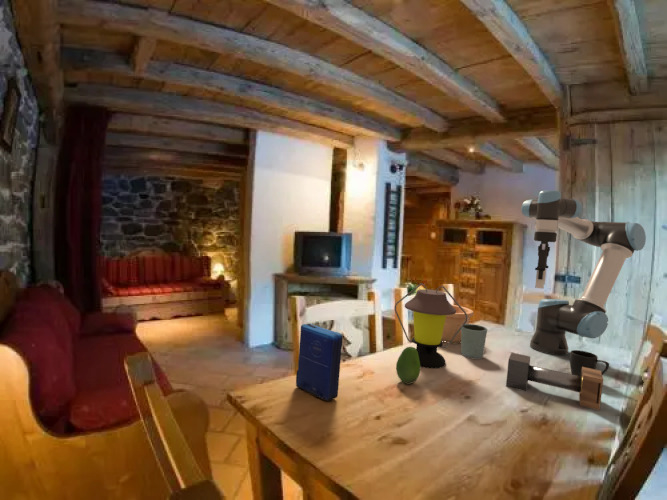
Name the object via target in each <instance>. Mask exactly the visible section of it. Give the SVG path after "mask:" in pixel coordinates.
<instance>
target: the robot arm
mask: <svg viewBox="0 0 667 500" xmlns="http://www.w3.org/2000/svg"><path fill="white" fill-rule="evenodd" d="M520 212H521V214H522V215H523V216H524V217H526V218H535V221H534V222H533V225H535V226H534V227H535V228H534V229H535V232H534V235H533V236H534V237H533V240H534V241H535V242H540V244H539V245H538V247H537V256H538V260H537V266H536V267H535V268H534V270H535V271H536V275H535V286H534V287H535V288H536V289H544V287H545V285H546V276H547V269H549V265H548V257H549V255H550V252H551V251H550V250H551V247H550V246H549V243H556V242H557V236H558V233H557V231H559V230H558V229H560V230H562V231H564V232H566V233H569V234H571V235H572V237H573V238H574V239H576V240H579V241H581V242H582V243H585V244H588V245H590V246H594V247H598V248H600V249H601V250H602V252H601V254H600V257H599V258H598V260H597V263H596V265H595V267H594V269H593V272H592V273H591V275H590V277H589V280H588V281H587V283H586V286H585V288H584V290H583V292H582V294H581V296H580V298H576V299H575V300H574V301H573V302H572V304H570V301H569V300H567V299H559V298H558V299H557V298H543V299H540V300H539V301H538V306H537V315H536V324H535V325H536V326H535V331H534V332H533V335H532V336H531V339H530V341H529V346H530V348H532V349H533V350H535V351H537V352H541V353H545V354H550V355H557V356H561V355H562V356H563V355H564V356H565V355H568V354H569V345H568V342H567V341H568V340H567V337H566V332H567V333H570V334H573V335H576V336H579V337H582V338H588V339H596V338H600V337H601V336H602V335H603V334H604V333H605V331H606V330H607V328H608V325H609V323H608V322H609V317H608V315H607V310H606V308H605V304H606V303H607V300H608V298H609V296H610V294H611V292H612V289H613V287H614V285H615V284H616V281H617V279H618V277H619V274H620V272H621V270H622V268H623V266H624V263H625V262H626V259H629V258H631V257H632V256H633V254H634V253H635V252H637V251H641V250H643V249H644V247H645V245H646V241H647V239H646V238H647V236H646V232H645V228H644V227H643V226H642V225H641V224H640V223H637V222H630V221H626V222H621V221H620V222H617V221H614V222H613V221H593V220H589V219H585V218H584V219H582V218H580V217H579V216H580V215H581V214H582V213H583V204H582V202H581V201H580V200H577V199H574V198H566V197H562V193H561V191H560V190H552V189H551V190H541V191H540V192H539V193H538V198H537V199H534V198H532V199H527V200H525V201H523V203H522V205H521V211H520Z"/></svg>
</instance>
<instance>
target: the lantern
mask: <svg viewBox="0 0 667 500" xmlns="http://www.w3.org/2000/svg"><path fill="white" fill-rule="evenodd" d="M420 286H423V287H424V288H425V289H424V288H423V289H418V288H419V287H420ZM440 288H442V289H443V290H444V291H445V292H444V291H440V290H439V289H440ZM417 289H418V290H417ZM415 291H416V292H415ZM413 292H415V293H416V294H415V296H413V298H411V299H409V300H408V301H407V302H406V303H404V308H405V309H407V310H408V311H412V313H413V314H412V315H413V329H414V330H413V334H414V337H412V338H411V339H410V338H409V336H408V334H407V332H406V329H405V326H404V325H403V322H402V320H401V318H400V316H399V313H398V311H397V306H398V305H399V303H401V302H402V301H403V300H404V299H405V298H406V297H407V298H408V296H409V295H410V294H412V293H413ZM447 295H448V296H449V297H450V298H451V300H452V301H454V303H455V305H457V306H459V307H460V309H461V310H462V311H463V312H464V313H465V316H466V320H465V322H464V323H463V324H462V326H461V327H460V328H459V330H458V331H457V332H456V334H455V335H454V336H453V338H452V339H451V340H450V342H449V343H446V345H445V346H443V342H442V341H441V338H442V333H443V329H444V324H445V320H446V315H452V314H455V313H456V309H455V308H454V307H453V306H452V305H453V304H452V303H450V302H449V300H448V298H447ZM462 307H463V306H462ZM462 307H461V305H460V304H459V302H457V300H456V299H455V298H454V297H453V295H452V294H451V293H450V292H449V291H448V290H447V288H446V287H445V286H444V285H441V286H439V287H438V288H436V290H434V289H427V286H426V285H425V284H424V283H421V282H420V283H419V284H418V285H416V287H414V288H413V289H412V290H411V291H409V292H408V293H407V294H406V295H404V296H403V297H402V298H400V299H399V300H398V301H396V303H395V305H394V307H393V308H394V312H395V316H397V319H398V322H399V323H400V326H401V329H402V330H403V333H404V335H405V338H406V340H407V341H408V342H410V343H413V344H415V345H416V347H415V348H416V350H417V352H418V356H419V361H420V368H424V367H425V369H440V367H441V368H443V367H445V366H446V359H445V358H444V356H443V355H442V354H441V353H439V352H438V348H442V349H446V348H448V347H449V346H450V345H451V344H452V343H451V342H452V340H453V339H454V338H455V336H456V335H457V334H458V333H459V331H460V330H461V329H462V327H463V326H464V325H465V323H466V322H467V314H466V312H465V311H464V310H463V308H462ZM444 365H445V366H444Z"/></svg>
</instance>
